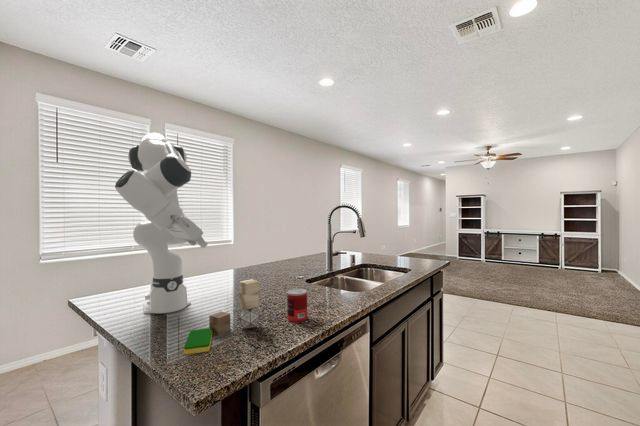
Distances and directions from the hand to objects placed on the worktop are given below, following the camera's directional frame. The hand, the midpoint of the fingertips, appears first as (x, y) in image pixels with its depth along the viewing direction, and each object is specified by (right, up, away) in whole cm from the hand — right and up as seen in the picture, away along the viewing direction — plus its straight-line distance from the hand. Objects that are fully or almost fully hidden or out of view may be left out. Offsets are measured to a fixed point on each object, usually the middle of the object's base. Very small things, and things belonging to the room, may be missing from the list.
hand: (199, 244), depth 97 cm
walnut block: (+4, -31, +7) cm, 32 cm away
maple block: (+14, -23, +9) cm, 29 cm away
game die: (+14, -31, +9) cm, 36 cm away
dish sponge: (+1, -32, -2) cm, 32 cm away
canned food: (+31, -31, +17) cm, 47 cm away
